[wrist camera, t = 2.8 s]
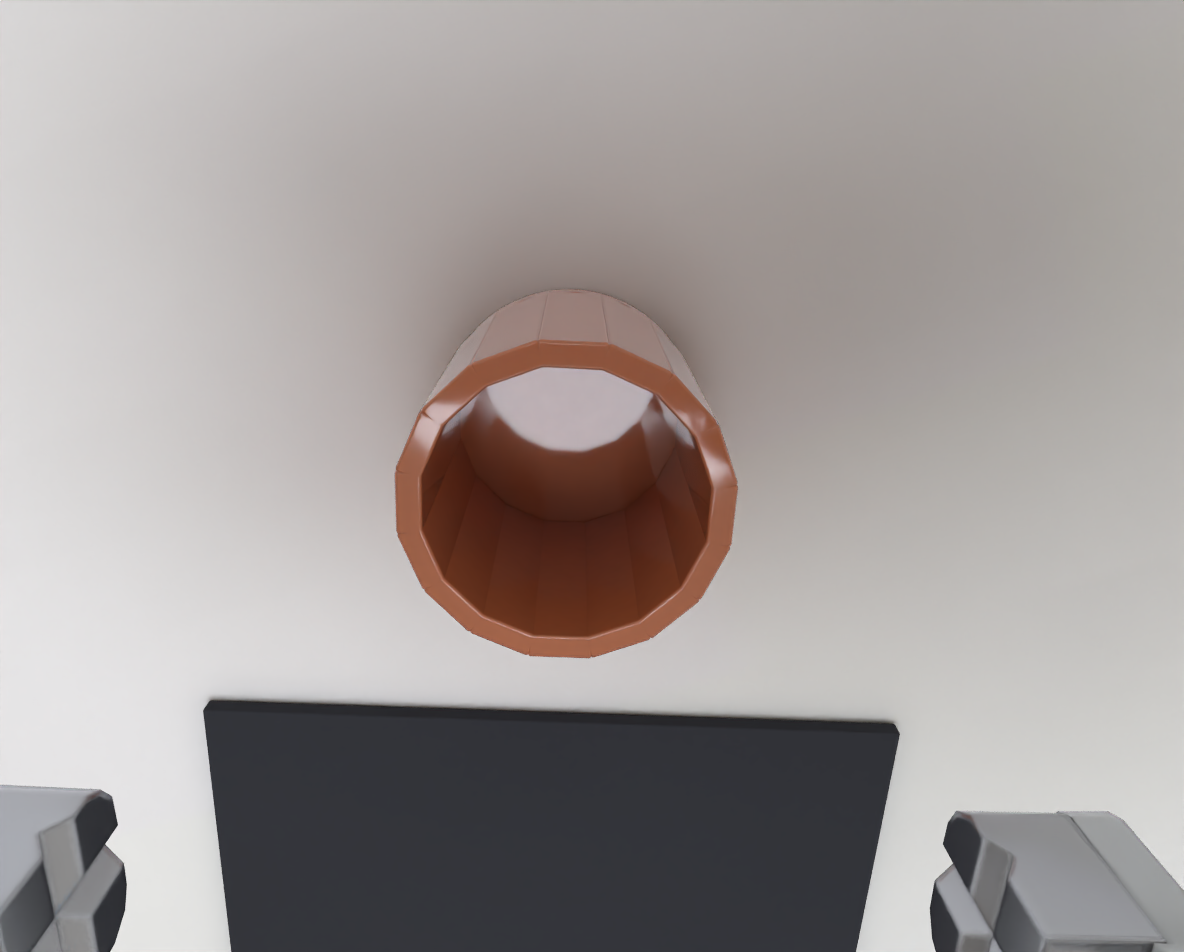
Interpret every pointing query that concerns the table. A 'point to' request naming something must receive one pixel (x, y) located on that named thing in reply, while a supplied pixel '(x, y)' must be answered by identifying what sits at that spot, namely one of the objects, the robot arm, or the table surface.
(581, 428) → the cup
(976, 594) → the table surface
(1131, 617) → the table surface
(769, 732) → the mat
